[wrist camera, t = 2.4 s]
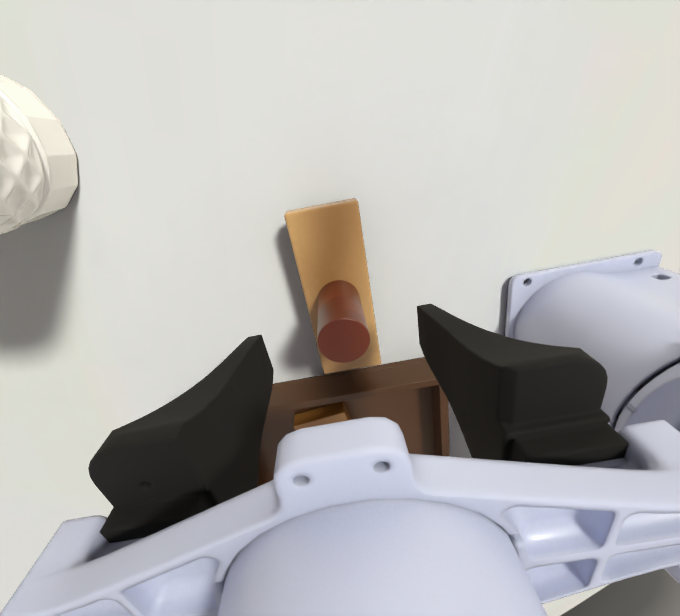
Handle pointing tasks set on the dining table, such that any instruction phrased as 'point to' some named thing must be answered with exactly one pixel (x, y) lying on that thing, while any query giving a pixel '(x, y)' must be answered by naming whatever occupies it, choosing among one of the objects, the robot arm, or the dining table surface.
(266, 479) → the tray
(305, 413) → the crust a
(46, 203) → the white cup
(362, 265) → the wooden stamp
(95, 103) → the dining table surface
